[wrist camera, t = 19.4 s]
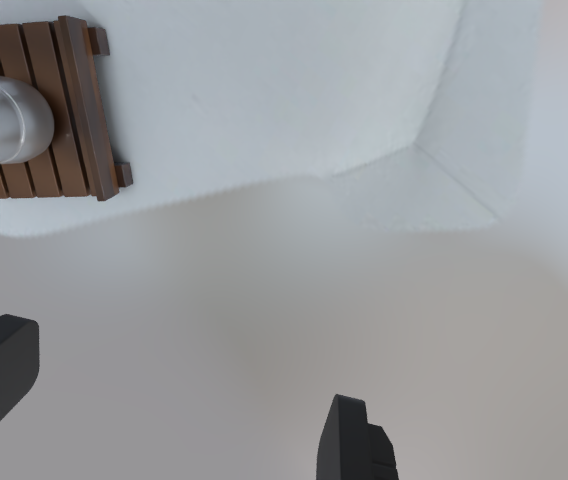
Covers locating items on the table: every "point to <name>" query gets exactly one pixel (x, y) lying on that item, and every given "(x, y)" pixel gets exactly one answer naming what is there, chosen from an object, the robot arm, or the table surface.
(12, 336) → the robot arm
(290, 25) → the table surface
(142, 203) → the table surface
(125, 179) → the wooden slatted rack
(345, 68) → the table surface
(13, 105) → the silver metal bottle
